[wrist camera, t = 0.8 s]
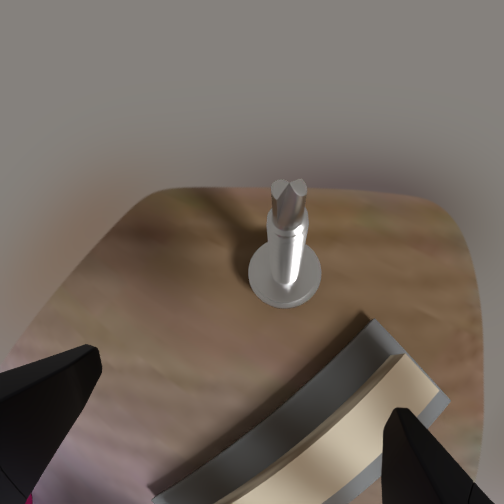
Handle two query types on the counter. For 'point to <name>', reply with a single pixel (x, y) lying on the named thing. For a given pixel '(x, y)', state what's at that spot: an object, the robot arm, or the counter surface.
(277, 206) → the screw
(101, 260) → the counter surface
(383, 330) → the stand
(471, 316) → the counter surface
